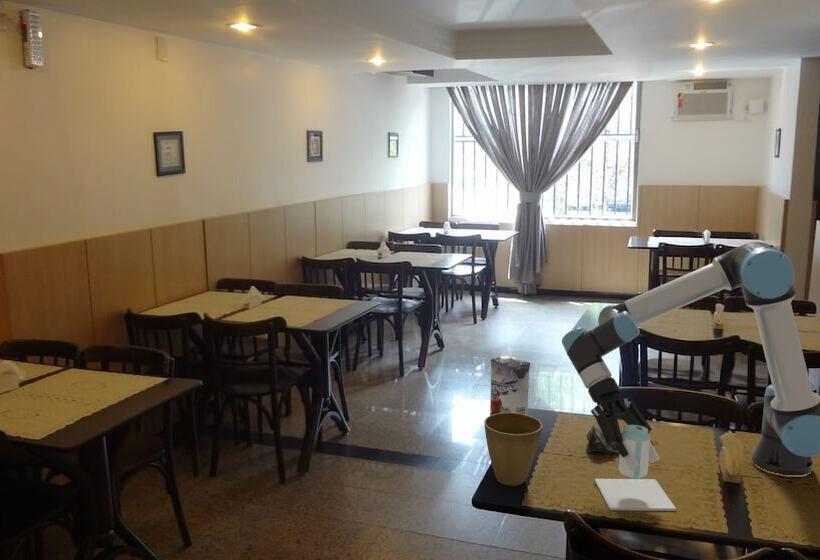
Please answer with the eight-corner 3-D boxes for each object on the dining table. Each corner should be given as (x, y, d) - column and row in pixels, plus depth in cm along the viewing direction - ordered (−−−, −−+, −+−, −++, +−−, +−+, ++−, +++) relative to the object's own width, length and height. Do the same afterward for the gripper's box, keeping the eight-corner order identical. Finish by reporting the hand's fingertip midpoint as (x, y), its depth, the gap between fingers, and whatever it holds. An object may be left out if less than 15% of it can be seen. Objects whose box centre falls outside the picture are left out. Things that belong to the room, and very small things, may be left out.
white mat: (655, 481, 200) (655, 479, 200) (675, 510, 184) (675, 508, 184) (594, 480, 200) (594, 478, 200) (609, 510, 184) (610, 507, 184)
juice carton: (508, 435, 230) (511, 349, 225) (530, 447, 222) (534, 358, 217) (484, 440, 226) (487, 353, 221) (506, 453, 217) (509, 362, 212)
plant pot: (472, 482, 199) (473, 424, 196) (501, 463, 210) (502, 408, 207) (522, 498, 190) (524, 438, 187) (549, 477, 202) (552, 420, 199)
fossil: (624, 457, 214) (609, 426, 213) (594, 468, 216) (578, 438, 216) (623, 441, 224) (608, 411, 223) (594, 452, 227) (579, 423, 226)
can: (616, 467, 195) (619, 422, 193) (644, 468, 194) (647, 424, 192) (621, 479, 188) (624, 433, 186) (650, 480, 188) (653, 434, 185)
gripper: (617, 383, 206) (662, 461, 196) (564, 396, 195) (608, 479, 185) (634, 370, 201) (681, 449, 190) (580, 382, 190) (627, 467, 180)
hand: (645, 464), depth 188 cm, fingers closed on can, 7 cm apart
